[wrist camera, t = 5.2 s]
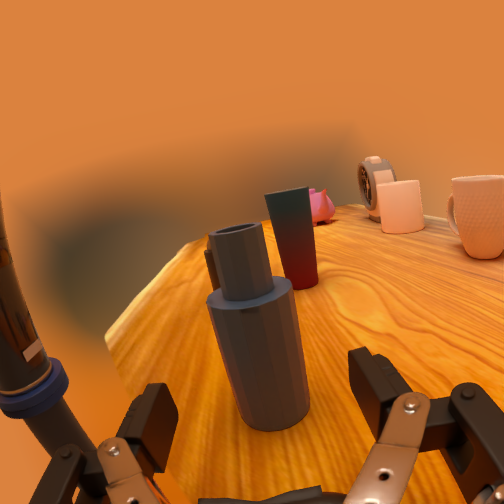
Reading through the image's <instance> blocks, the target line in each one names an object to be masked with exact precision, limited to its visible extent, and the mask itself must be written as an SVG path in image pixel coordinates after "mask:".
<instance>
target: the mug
mask: <svg viewBox="0 0 504 504" xmlns="http://www.w3.org/2000/svg"><path fill="white" fill-rule="evenodd" d="M452 188H453V193H452V194H451V195H450V196H449V198H448V202H447V219H448V223H449V226H450V228H451V229H452V231H453V232H454V233H455V234H456V235H458V236H459V237H460V238H461V241H462V244H463V246H464V248H465V250H466V252H467V253H468V255H469V256H471V257H473V258H477V259H493V258H496V257H498V256H499V255H500V254H501V253H502V251H503V249H504V175H480V176H467V177H458V178H453V179H452ZM453 208H454V209H455V215H456V216H455V217H456V222H457V225H456V223H455V219H454V213H453ZM457 226H458V227H457Z"/></svg>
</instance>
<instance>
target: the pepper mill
mask: <svg viewBox="0 0 504 504" xmlns="http://www.w3.org/2000/svg"><path fill="white" fill-rule="evenodd" d="M204 255H205V259H206V263H207V267H208V271H209V275H210V279H211V283H212V287H213V291H215V290H216V289H219V288H221V286H220V282H219V278H218V274H217V270H216V266H215V261H214V257H213V253H212V249H211V244H210V240H208V242H207V250H205V251H204Z"/></svg>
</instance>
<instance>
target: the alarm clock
mask: <svg viewBox="0 0 504 504" xmlns="http://www.w3.org/2000/svg"><path fill="white" fill-rule="evenodd" d="M390 182H397V181H396V176H395V173H394V170H393V168H392V166H391V164H390V163H389V162H388V161H387V160H386V159H381V158H379V157H378V156H372V157H367V158H365V161H363V162H360V163H359V165H358V184H359V190H360V193H361V198H362V200H363V203H364V205H365V208H366V211H367V212H368V213H369V215H370V219H372V220H374V221H376V222H379V223H381V217H380V210H379V203H378V196H377V190H376V185H378V184H383V183H390Z"/></svg>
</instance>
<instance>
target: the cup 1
mask: <svg viewBox="0 0 504 504" xmlns="http://www.w3.org/2000/svg"><path fill="white" fill-rule="evenodd" d="M264 196H265V200H266V203H267V207H268V211H269V215H270V219H271V223H272V226H273V230H274V234H275V238H276V242H277V246H278V250H279V254H280V258H281V262H282V266H283V270H284V274H285V278H286V279H289V280H290V282H291V284H292V287H293V289H295V290H299V289H306V288H310V287H312V286H314V285H316V284H317V283H318V273H317V261H316V250H315V240H314V230H313V221H312V212H311V204H310V196H309V188H308V187H301V188H294V189H288V190H283V191H278V192H273V193H269V194H265V195H264Z"/></svg>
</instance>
